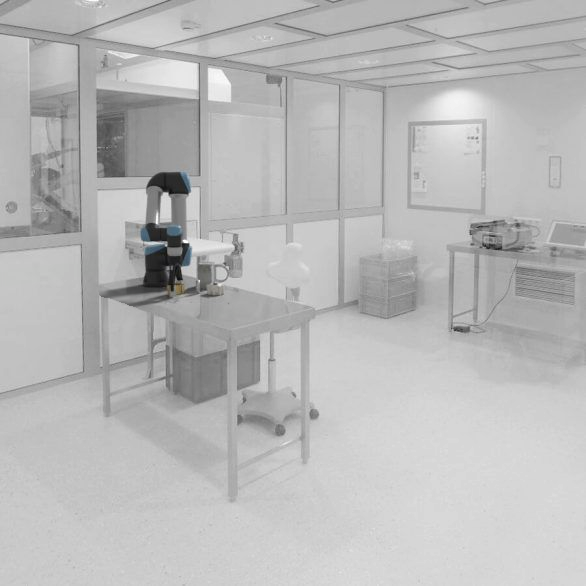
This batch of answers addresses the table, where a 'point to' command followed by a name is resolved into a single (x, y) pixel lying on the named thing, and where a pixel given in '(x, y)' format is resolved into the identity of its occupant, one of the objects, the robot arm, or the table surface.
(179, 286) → the brass gear
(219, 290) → the gear
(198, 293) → the gear plate
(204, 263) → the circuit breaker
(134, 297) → the table surface
